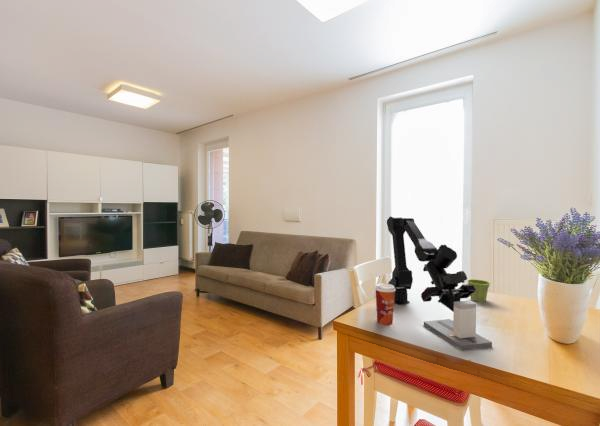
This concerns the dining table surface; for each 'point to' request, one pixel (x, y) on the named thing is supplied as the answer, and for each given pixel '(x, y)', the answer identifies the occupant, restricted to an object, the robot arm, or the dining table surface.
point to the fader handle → (464, 319)
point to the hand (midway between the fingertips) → (460, 315)
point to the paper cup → (385, 303)
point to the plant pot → (479, 289)
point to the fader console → (446, 331)
